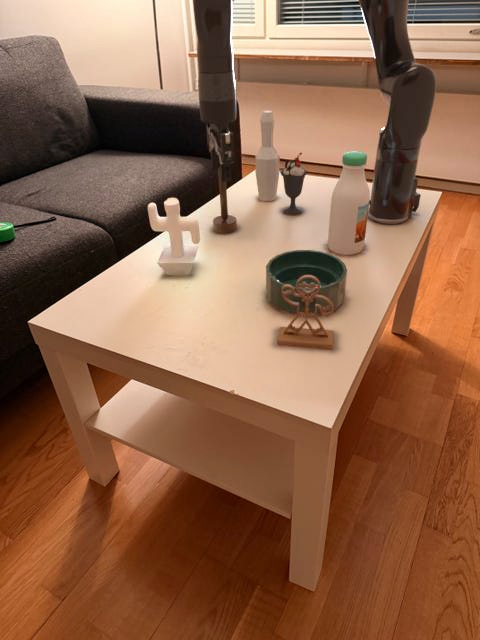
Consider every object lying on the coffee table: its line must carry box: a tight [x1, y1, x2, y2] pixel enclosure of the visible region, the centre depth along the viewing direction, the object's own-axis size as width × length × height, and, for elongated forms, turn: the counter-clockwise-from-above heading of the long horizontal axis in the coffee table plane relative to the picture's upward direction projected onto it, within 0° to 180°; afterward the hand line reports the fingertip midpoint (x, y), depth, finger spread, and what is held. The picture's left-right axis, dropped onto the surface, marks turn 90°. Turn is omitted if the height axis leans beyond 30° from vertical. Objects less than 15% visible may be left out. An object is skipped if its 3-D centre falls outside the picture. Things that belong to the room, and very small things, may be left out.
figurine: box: [147, 197, 201, 276], centre depth 91 cm, size 7×9×15 cm
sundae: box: [279, 152, 309, 216], centre depth 114 cm, size 7×7×15 cm
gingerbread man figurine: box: [276, 275, 335, 350], centre depth 72 cm, size 9×4×12 cm, turn 80°
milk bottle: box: [327, 150, 371, 256], centre depth 95 cm, size 8×8×20 cm
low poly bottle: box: [254, 110, 281, 202], centre depth 120 cm, size 6×6×22 cm
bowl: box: [265, 249, 348, 316], centre depth 84 cm, size 14×14×6 cm
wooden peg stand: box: [212, 167, 238, 235], centre depth 107 cm, size 6×6×15 cm
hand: (221, 175), depth 103 cm, fingers open, 8 cm apart
